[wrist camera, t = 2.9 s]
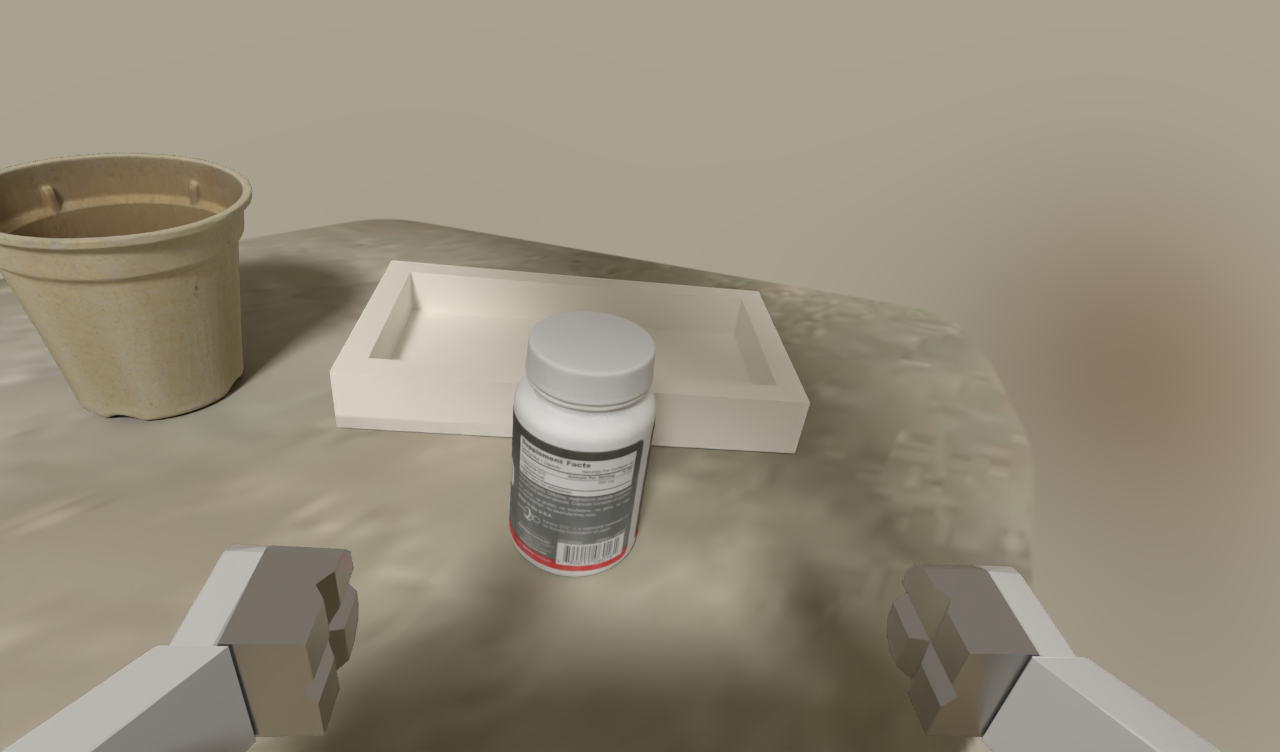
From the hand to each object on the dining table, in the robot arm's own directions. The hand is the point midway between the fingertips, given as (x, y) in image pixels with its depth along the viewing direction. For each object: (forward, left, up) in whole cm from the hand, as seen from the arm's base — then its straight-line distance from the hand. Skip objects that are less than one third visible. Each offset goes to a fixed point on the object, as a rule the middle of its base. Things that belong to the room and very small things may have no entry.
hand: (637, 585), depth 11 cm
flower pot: (-18, +20, -11) cm, 30 cm away
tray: (0, +23, -11) cm, 26 cm away
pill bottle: (0, +12, -11) cm, 17 cm away
